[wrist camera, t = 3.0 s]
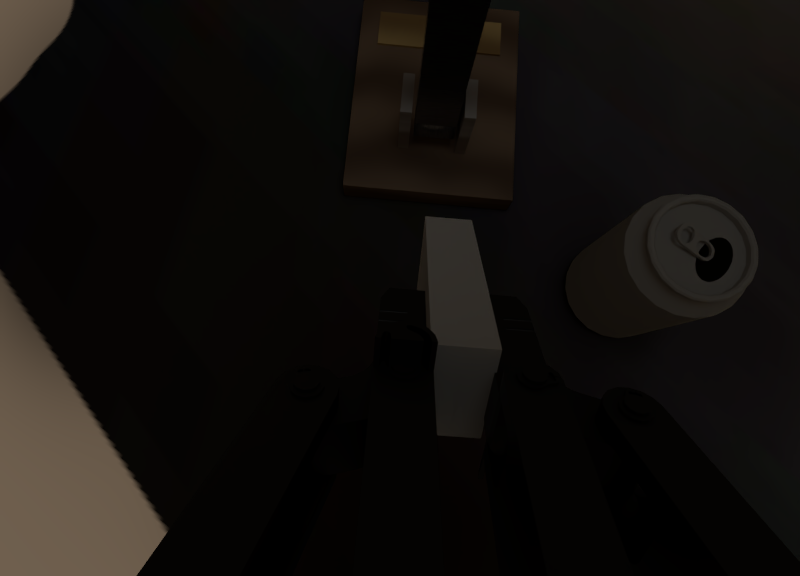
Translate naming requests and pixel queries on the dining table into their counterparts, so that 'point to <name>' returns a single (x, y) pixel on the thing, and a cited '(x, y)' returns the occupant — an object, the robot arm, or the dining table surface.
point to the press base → (396, 103)
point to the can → (663, 267)
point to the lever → (447, 64)
